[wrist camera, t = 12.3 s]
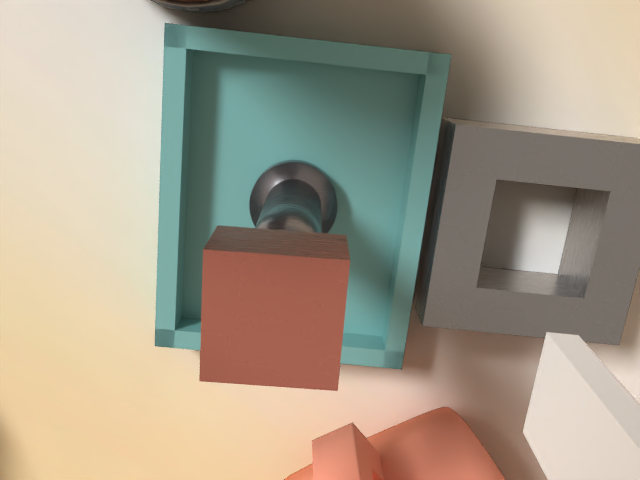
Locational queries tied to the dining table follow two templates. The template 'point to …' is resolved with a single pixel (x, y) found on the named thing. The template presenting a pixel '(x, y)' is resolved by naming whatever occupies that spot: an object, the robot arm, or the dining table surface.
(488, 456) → the teapot
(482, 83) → the dining table surface
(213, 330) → the rod with pink block
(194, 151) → the tray
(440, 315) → the eye block
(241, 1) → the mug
